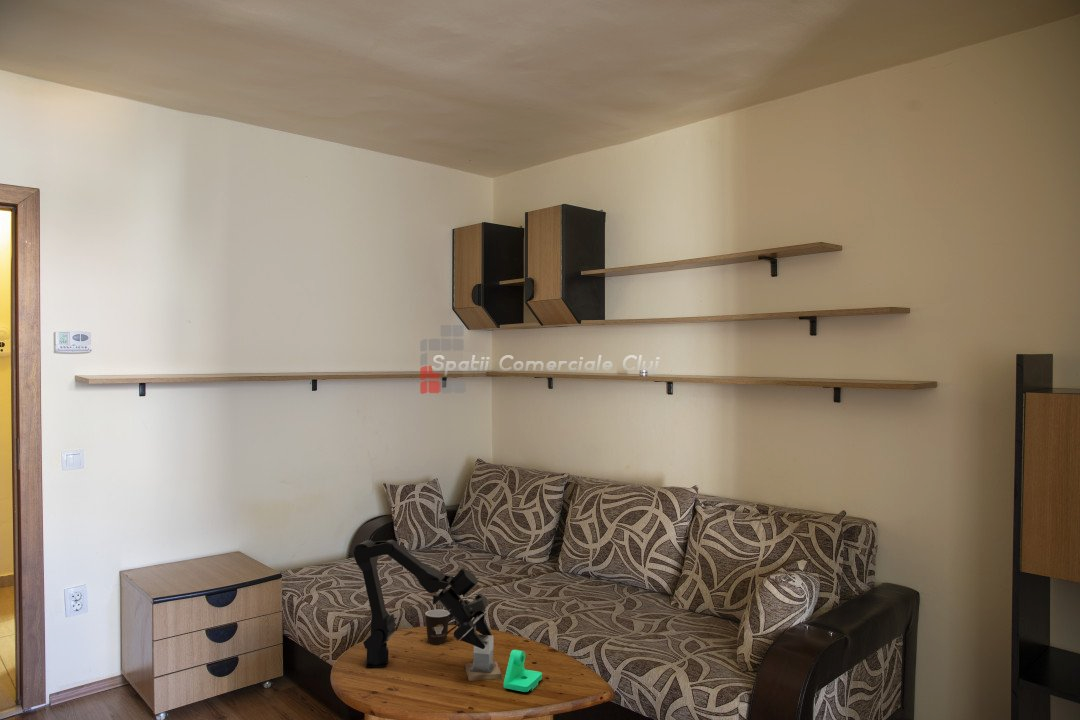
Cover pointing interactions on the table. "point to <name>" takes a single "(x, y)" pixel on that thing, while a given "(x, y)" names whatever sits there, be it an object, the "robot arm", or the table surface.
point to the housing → (483, 656)
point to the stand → (483, 676)
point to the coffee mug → (437, 626)
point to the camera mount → (520, 674)
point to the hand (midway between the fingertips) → (487, 642)
